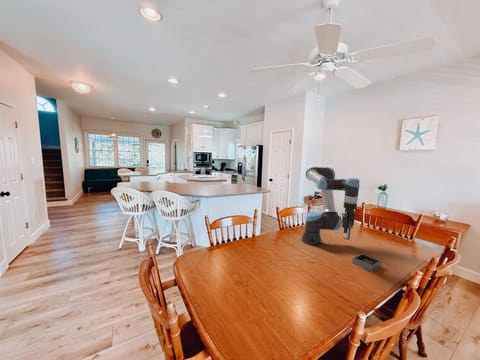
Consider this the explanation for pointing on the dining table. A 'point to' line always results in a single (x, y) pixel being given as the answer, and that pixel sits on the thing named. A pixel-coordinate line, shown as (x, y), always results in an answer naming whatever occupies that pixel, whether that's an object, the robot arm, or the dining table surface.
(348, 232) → the curved brown wooden bar
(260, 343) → the dining table surface
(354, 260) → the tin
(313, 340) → the dining table surface
